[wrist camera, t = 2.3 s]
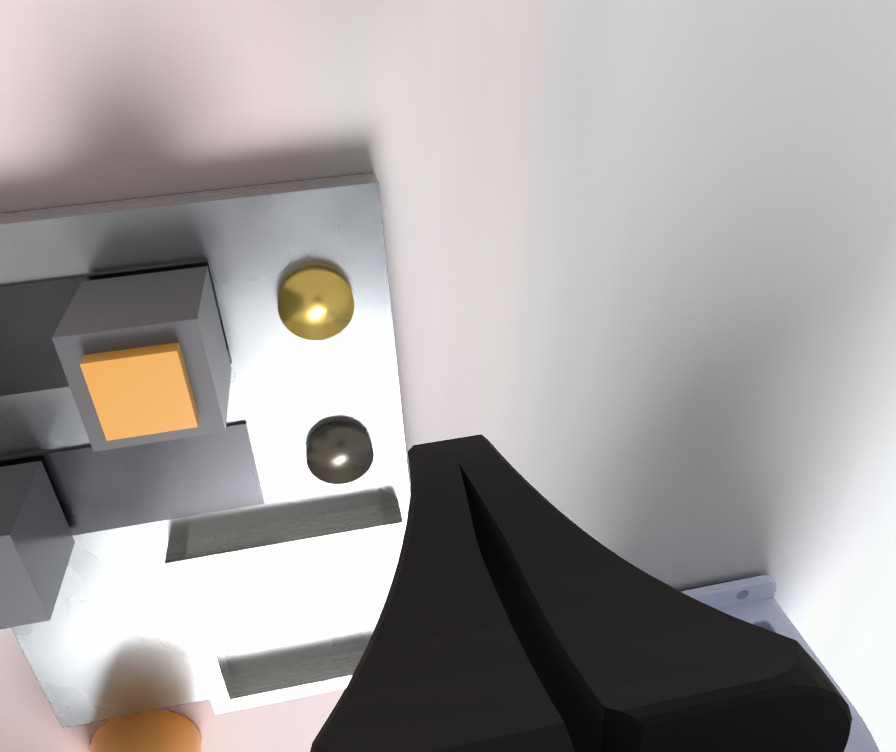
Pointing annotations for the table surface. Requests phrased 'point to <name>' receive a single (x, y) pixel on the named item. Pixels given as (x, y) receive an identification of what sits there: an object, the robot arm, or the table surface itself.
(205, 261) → the panel
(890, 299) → the table surface
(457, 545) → the robot arm
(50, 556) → the block
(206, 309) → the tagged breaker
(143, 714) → the cap
